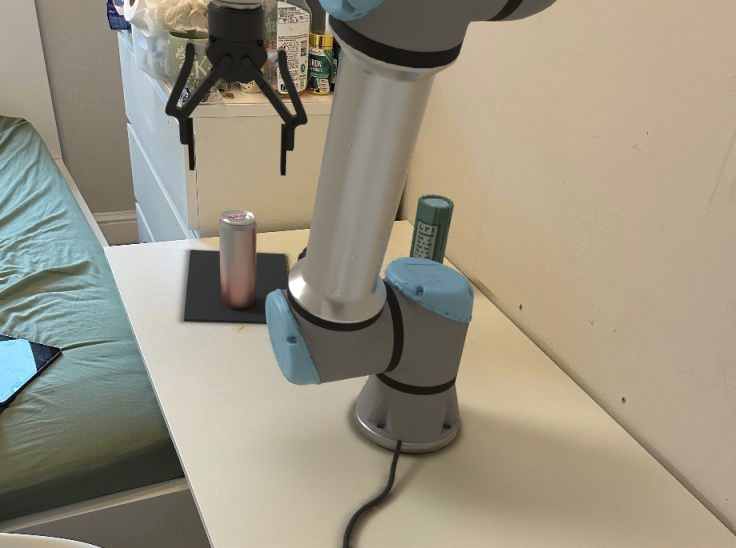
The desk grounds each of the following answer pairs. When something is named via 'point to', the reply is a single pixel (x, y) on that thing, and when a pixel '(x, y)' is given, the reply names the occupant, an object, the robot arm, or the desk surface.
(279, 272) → the mat
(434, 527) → the desk surface
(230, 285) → the beverage can
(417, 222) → the can
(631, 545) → the desk surface
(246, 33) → the robot arm
